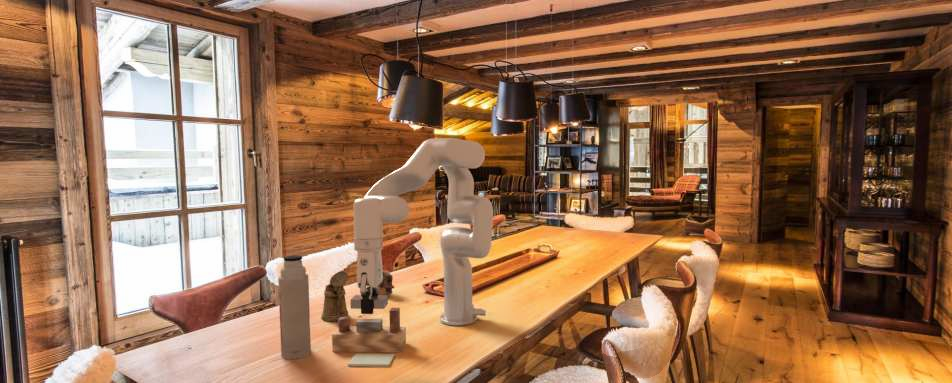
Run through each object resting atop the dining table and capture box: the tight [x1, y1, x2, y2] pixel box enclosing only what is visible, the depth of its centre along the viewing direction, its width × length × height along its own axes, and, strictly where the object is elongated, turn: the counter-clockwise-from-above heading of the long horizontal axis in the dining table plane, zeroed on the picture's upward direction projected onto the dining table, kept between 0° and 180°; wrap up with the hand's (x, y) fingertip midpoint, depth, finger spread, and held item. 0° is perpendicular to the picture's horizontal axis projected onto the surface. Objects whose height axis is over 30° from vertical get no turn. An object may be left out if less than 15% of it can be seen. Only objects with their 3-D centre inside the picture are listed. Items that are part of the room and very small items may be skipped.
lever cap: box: [350, 294, 389, 310], centre depth 137 cm, size 9×5×3 cm, turn 87°
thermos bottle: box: [277, 254, 312, 360], centre depth 144 cm, size 8×8×28 cm
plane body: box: [331, 307, 407, 353], centre depth 148 cm, size 20×7×11 cm, turn 87°
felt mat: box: [347, 353, 395, 368], centre depth 139 cm, size 11×7×1 cm, turn 87°
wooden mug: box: [321, 271, 349, 322], centre depth 174 cm, size 9×14×18 cm, turn 30°
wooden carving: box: [378, 269, 395, 297], centre depth 204 cm, size 16×5×10 cm, turn 41°
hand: (369, 309), depth 137 cm, fingers closed on lever cap, 4 cm apart
